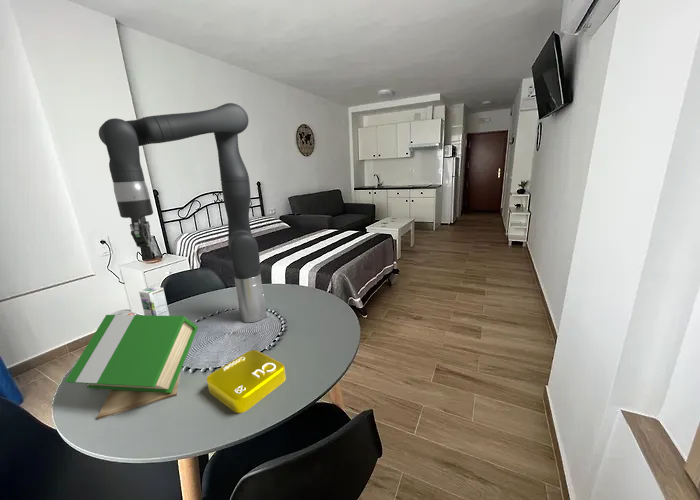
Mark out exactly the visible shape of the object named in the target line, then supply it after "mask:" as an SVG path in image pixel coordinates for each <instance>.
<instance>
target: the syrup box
mask: <svg viewBox="0 0 700 500" xmlns="http://www.w3.org/2000/svg"><path fill="white" fill-rule="evenodd" d="M164 289H165V288H164V287H159V286H149V287H146V288H144V289H141V290H139V292H138V294H139V297H140V301H141V306H142V309H143V313H144V314H143V315H152V316H170V312H169V308H168V303H167V298H166V294H165V290H164Z"/></svg>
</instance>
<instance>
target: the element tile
mask: <svg viewBox="0 0 700 500" xmlns="http://www.w3.org/2000/svg"><path fill="white" fill-rule="evenodd" d="M286 379H287V376H286V368H285V365H284V364H283V363H282V362H280V361H278V360H276V359H274V358H272V357H270V356H269V355H266V354H265V353H262V352H260V351H259V350H255V349H251V350H249V351H246V352H245V353H243V354H241V355H240V356H238V357H236V358H235V359H233V360H231V361H230V362H228V363H227V364H225V365H223V366H222V367H219V368H217V369H216V370H214V371H212V372H211V373H210V374H209V375H208V376H207V377H206V381H207V386H208V391H209V394H210V395H212V396H213V397H215V399H217V400H218V401H220V402H221V403H222V404H224V405H225V406H226V407H228V408H229V409H230V410H231V411H233V412H234V413H236V414H242V413H245V412H247V411H249V410H250V409H251V408H252V407H254V406H255V405H257V404H258V403H259V402H260V401H261V400H262V399H264V398H265V397H267V396H268V395H269V394H271V392H273V391H275V390H276V389H277V388H279V386H281V385H282V384H283V383H285V381H286Z"/></svg>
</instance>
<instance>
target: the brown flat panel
mask: <svg viewBox="0 0 700 500" xmlns="http://www.w3.org/2000/svg"><path fill="white" fill-rule="evenodd" d="M180 377H181V372H180V373H179V376H178V378H177V381H176V383H175V386H174V388H173V391H172V393H156V392H139V391H121V390H109V392H108V394H107V396H106V399H105V401H104V403H103V404H102V406H101V409H100V411H99V413H98V415H97V416H96V417H97V420H101V419H105V418H107V417H111V416H114V415H116V414H120V413H124V412H127V411H129V410H134V409H137V408H140V407H142V406H146V405H150V404H152V403H157V402H159V401H164V400H166V399H169V398H173V397H176V396H177V394H178V387H179V382H180Z"/></svg>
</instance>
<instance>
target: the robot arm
mask: <svg viewBox="0 0 700 500" xmlns="http://www.w3.org/2000/svg"><path fill="white" fill-rule="evenodd" d="M248 125H249V116H248V113H247V111H246V110H245V109H244V108H243V107H242V106H241V105H239V104H237V103H232V102H229V103H224V104H222V105H219V106H217V107H214V108H211V109H210V108H209V109H205V110H201V111H200V110H199V111H193V112H191V111H190V112H183V113H182V112H180V113H167V114H157V115H150V116H149V115H148V116H144V117H141V118H137V119H131V120H124V119H121V118H109V119H107V120H105V122H103V123H102V124H101V126H100V127H99V130H98V137H99V139H100V141H101V142H102V143H103V144H104V146H105V147H106V150H107V155H108V159H109V162H108V165H109V172H110V176H111V181H112V183H113V192H114V196H115V200H116V203H117V207H118V212H119V215H120V217H121V218H124V219H130V224H129V227H130V230H131V231H130V235H131V236H132V239H133V240H134V244H136V245H135V246H137V248H139V249H140V253H141V256H142V260H143V261H148V260H152V259H153V257H154V256H153V250H152V247H151V245H152V236H151V225H150V221H147V219H146V217H148V216H152V215H153V214H154V210H153V206H152V202H151V201H152V200H151V197H150V192H149V189H148V186H147V183H146V181H145V175H144V172H143V171H144V170H143V168H142V165H141V160H140V159H141V157H140V155H141V154H140V147H143V146H146V145H152V144H153V145H154V144H163V143H170V142H175V141H180V140H181V141H182V140H185V139H189V138H193V137H197V136H201V135H206V134H212V133H213V135H214V139H215V144H216V149H217V153H218V154H217V157H218V166H219V175H220V185H221V193H222V198H223V204H224V208H225V213H226V217H227V225H228V229H227V231H228V232H227V233H228V234H227V235H228V239H227V241H228V242H227V243H228V244H227V246H228V248H229V251H230V254H231V261H232V272H233V278H234V283H235V290H236V297H237V302H238V307H239V315H240V320H241V321H242V322H243V323H254V322H259V321H260V320H263V319H265V318H267V317H268V315H267V307H266V300H265V294H264V289H263V284H262V276H261V275H262V274H261V260H260V251H259V245H258V242H257V239H255V237H254V236H253V233H252V229H251V225H250V206H251V185H250V177H249V172H248V169H247V167H246V165H245V163H244V161H243V158H242V156H241V154H240V153H241V152H240V149H239V148H240V147H239V134H241V133H244V131H245V130H246V129H247V128H248ZM264 317H265V318H264Z"/></svg>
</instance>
